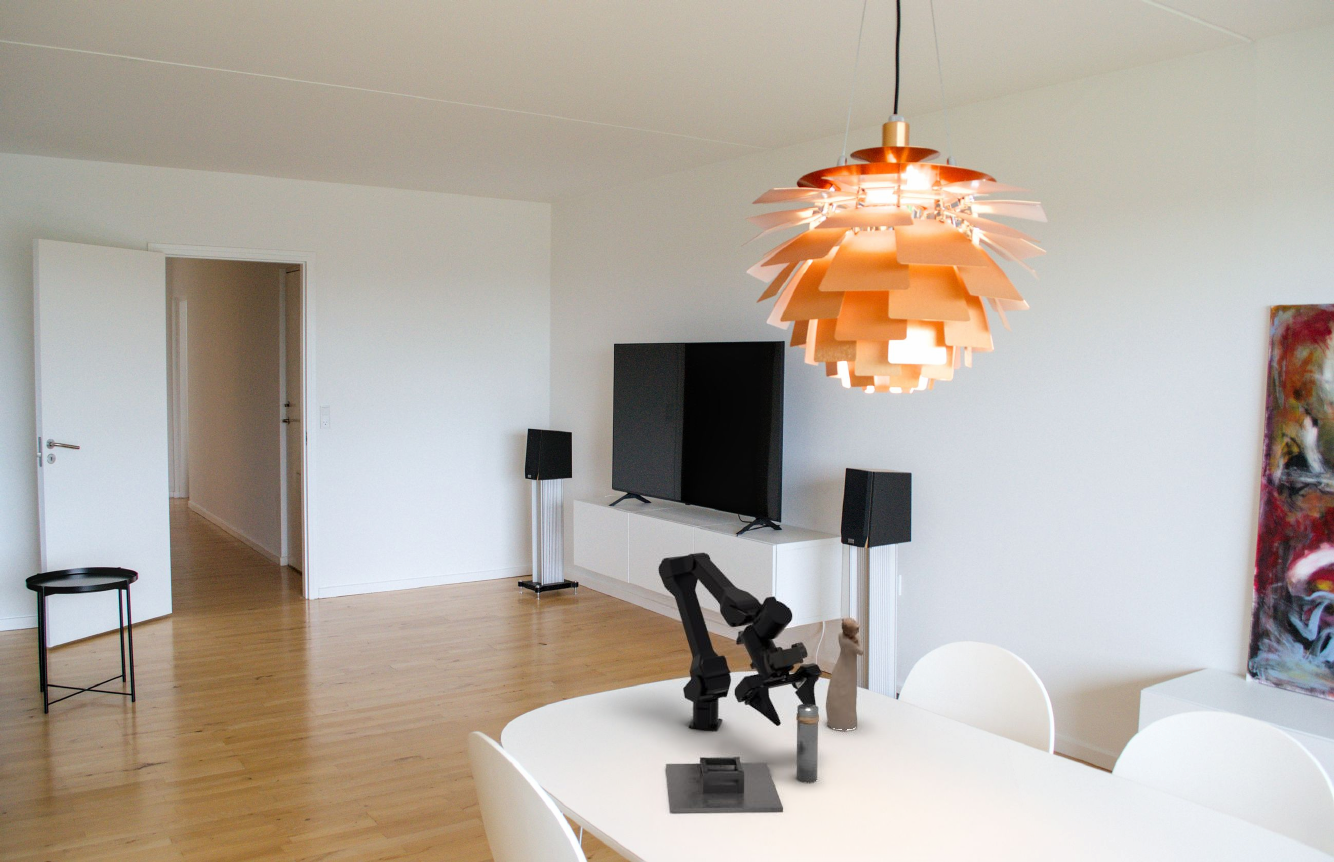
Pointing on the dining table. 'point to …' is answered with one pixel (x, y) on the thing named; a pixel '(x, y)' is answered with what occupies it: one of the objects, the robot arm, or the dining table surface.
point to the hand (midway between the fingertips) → (797, 720)
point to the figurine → (844, 679)
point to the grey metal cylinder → (807, 742)
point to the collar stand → (721, 787)
